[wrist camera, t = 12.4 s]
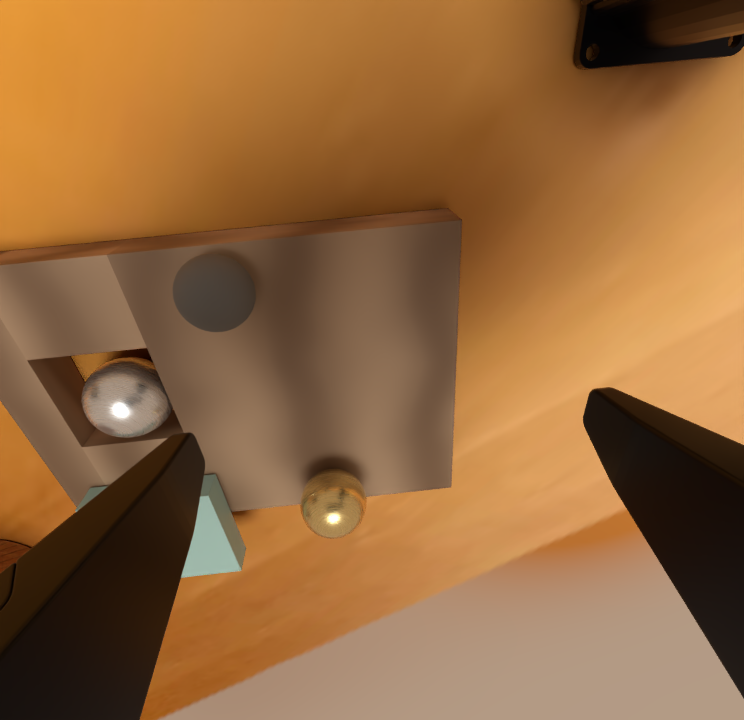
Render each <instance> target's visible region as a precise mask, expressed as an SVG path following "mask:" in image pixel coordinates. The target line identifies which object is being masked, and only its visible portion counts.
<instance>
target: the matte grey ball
mask: <svg viewBox="0 0 744 720" xmlns="http://www.w3.org/2000/svg"><path fill="white" fill-rule="evenodd" d="M173 299H174V302H175V305H176V307H177V309H178V311H179V313H180V314H181V315H182V317H183V318H184V319H185V320H186V321H188V322H189V323H190V324H192V325H193V326H195V327H197V328H199V329H202V330H205V331H209V332H224V331H228V330H231V329H234V328H236V327H238V326H239V325H241V324H242V323H243V322H244V321H246V319H247V318H248V317H249V315H250V314H251V312H252V310H253V308H254V305H255V300H256V290H255V285H254V282H253V280H252V278H251V276H250V274H249V273H248V271H247V270H246V269H245V268H244V267H243V266H242V265H241V264H240V263H239V262H237V261H236V260H234V259H232V258H230V257H227V256H225V255H220V254H203V255H200V256H196V257H194V258H192V259H190V260H189V261H187V262H186V263H185V264H184V265H183V266H182V267H181V268H180V270H179V271H178V272H177V274H176V276H175V279H174V282H173Z"/></svg>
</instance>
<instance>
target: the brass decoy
mask: <svg viewBox="0 0 744 720" xmlns="http://www.w3.org/2000/svg"><path fill="white" fill-rule="evenodd" d="M300 507H301V514H302V517H303V519H304V521H305V523H306V525H307V526H308V527H309V528H310V530H312V531H313V532H314V533H315V534H317V535H319V536H321V537H324V538H330V539H335V538H341V537H344V536H346V535H348V534H350V533H351V532H353V531H354V530H355V529H356V528H357V527H358V526H359V524H360V523H361V521H362V519H363V517H364V514H365V511H366V494H365V491H364V488H363V486H362V484H361V483H360V481H359V480H358V479H357V478H356V477H355V476H354V475H352V474H351V473H349V472H347V471H345V470H341V469H328V470H324V471H322V472H320V473H318V474H316V475H315V476H314V477H312V478H311V479H310V480H309V482H308V483H307V484H306V486H305V488H304V490H303V493H302V496H301V505H300Z"/></svg>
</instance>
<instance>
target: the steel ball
mask: <svg viewBox="0 0 744 720" xmlns="http://www.w3.org/2000/svg"><path fill="white" fill-rule="evenodd" d="M82 407H83V411H84V413H85V415H86V417H87V418H88V420H89V421H90V422H91V423H92V425H93V426H95V427H96V428H97V429H99V430H100V431H102V432H104V433H106V434H108V435H112V436H115V437H124V438H130V437H137V436H141V435H144V434H147V433H149V432H151V431H153V430H155V429H156V428H158V427H159V426H160V425H161V424H162V423H163V422H164V421H165V420H166V419H167V418H168V417H169V415H170V413H171V411H172V409H173V407H172V404H171V402H170V400H169V397H168V395H167V393H166V391H165V388H164V386H163V384H162V381H161V379H160V377H159V374H158V372H157V370H156V368H155V365H154V363H153V362H152V361H150V360H147V359H144V358H138V357H123V358H118V359H114V360H111V361H109V362H107V363H105V364H103V365H101V366H100V367H99V368H97V369H96V370H95V371H94V372H93V373H92V374H91V375H90V377H89V378H88V379H87V381H86V383H85V385H84V388H83V391H82Z"/></svg>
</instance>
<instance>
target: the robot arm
mask: <svg viewBox="0 0 744 720" xmlns="http://www.w3.org/2000/svg"><path fill="white" fill-rule="evenodd" d="M580 2H581V4H582V8H581V14H580V21H579V27H578V34H577V41H576V47H575V54H574V61H575V64H576V66H577V67H578V68H579V69H584V70H586V69H597V68H608V67H619V66H630V65H641V64H652V63H663V62H674V61H685V60H696V59H707V58H718V57H726V56H731V55H734V54H736V53H737V52H739V51H740V50H741V49H742V48H743V46H744V0H580ZM730 36H733V41H732V43H731V45H730V46H728V40H729V38H730ZM589 46H592V47H593V49H594V54H593V56H592V58H591V59H590V60H588V59H587V58H586V51H587V49H588V47H589ZM583 423H584V427H585V429H586V431H587V433H588V435H589V438H590V440H591V442H592V444H593V446H594V448H595V450H596V452H597V454H598V456H599V458H600V461H601V463H602V465H603V467H604V469H605V471H606V473H607V475H608V477H609V479H610V481H611V483H612V485H613V487H614V488H615V490H616V492H617V493H618V495H619V497H620V498H621V500H622V502H623V503H624V505H625V507H626V508H627V510H628V511H629V513H630V515H631V516H632V518H633V519H634V521H635V523H636V524H637V526H638V528H639V529H640V531H641V532H642V534H643V536H644V537H645V539H646V541H647V542H648V544H649V545H650V547H651V549H652V550H653V552H654V554H655V555H656V557H657V558H658V560H659V562H660V563H661V565H662V566H663V568H664V570H665V571H666V573H667V575H668V576H669V578H670V579H671V581H672V583H673V584H674V586H675V588H676V589H677V591H678V593H679V594H680V596H681V597H682V599H683V601H684V602H685V604H686V605H687V607H688V609H689V610H690V612H691V614H692V615H693V617H694V619H695V620H696V622H697V623H698V625H699V627H700V628H701V630H702V631H703V633H704V635H705V636H706V638H707V639H708V641H709V643H710V644H711V646H712V648H713V649H714V651H715V653H716V654H717V656H718V657H719V659H720V661H721V662H722V664H723V666H724V667H725V669H726V670H727V672H728V674H729V675H730V677H731V679H732V680H733V682H734V683H735V685H736V687H737V688H738V690H739V691H740V693H741V695H742V696H743V698H744V445H742V444H740V443H738V442H735V441H733V440H731V439H729V438H726V437H724V436H722V435H719V434H717V433H715V432H713V431H710V430H708V429H706V428H703V427H701V426H699V425H697V424H694V423H692V422H690V421H687V420H685V419H683V418H681V417H678V416H676V415H674V414H671V413H669V412H667V411H664V410H662V409H660V408H658V407H655V406H653V405H651V404H648V403H646V402H644V401H642V400H639V399H637V398H635V397H632V396H630V395H628V394H626V393H623V392H621V391H619V390H616V389H614V388H611V387H606V388H597V389H593V390H592V391H591V392H590V393H589V396H588V400H587V404H586V408H585V412H584V416H583ZM204 472H205V459H204V456H203V454H202V451H201V449H200V446H199V444H198V442H197V439H196V437H195V435H194V434H193V433H190V432H186V433H177V434H173V435H171V436H170V437H168V438H167V439H166V440H165V441H163V442H162V443H161V444H160V445H159V446H157V447H156V448H155V449H154V450H152V451H151V452H150V453H149V454H147V455H146V456H145V457H144V458H142V459H141V460H140V461H139V462H137V463H136V464H135V465H134V466H133V467H131V468H130V469H129V470H128V471H126V472H125V473H124V474H123V475H121V476H120V477H119V478H118V479H116V480H115V481H114V482H113V483H111V484H110V485H109V486H108V487H107V488H105V489H104V490H103V491H102V492H100V493H99V494H98V495H97V496H95V497H94V498H93V499H92V500H90V501H89V502H88V503H87V504H85V505H84V506H83V507H82V508H80V509H79V510H78V511H77V512H76V513H74V514H73V515H72V516H71V517H69V518H68V519H67V520H66V521H64V522H63V523H62V524H61V525H59V526H58V527H57V528H56V529H54V530H53V531H52V532H51V533H49V534H48V535H47V536H46V537H44V538H43V539H42V540H41V541H40V542H38V543H37V544H36V545H35V546H33V547H32V548H31V549H30V550H28V551H27V552H26V553H25V554H23V555H22V556H21V557H20V558H18V559H17V562H16V563H12V564H11V565H10V566H8V567H7V568H6V569H5V570H3V571H2V572H1V573H0V720H140V716H141V713H142V710H143V706H144V703H145V699H146V696H147V692H148V689H149V686H150V682H151V679H152V675H153V672H154V668H155V665H156V662H157V658H158V655H159V651H160V648H161V644H162V641H163V637H164V634H165V631H166V627H167V624H168V620H169V617H170V613H171V610H172V607H173V603H174V600H175V596H176V593H177V589H178V586H179V583H180V579H181V576H182V572H183V569H184V565H185V562H186V559H187V555H188V552H189V548H190V545H191V541H192V537H193V534H194V529H195V524H196V519H197V513H198V507H199V501H200V496H201V490H202V484H203V478H204Z"/></svg>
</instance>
